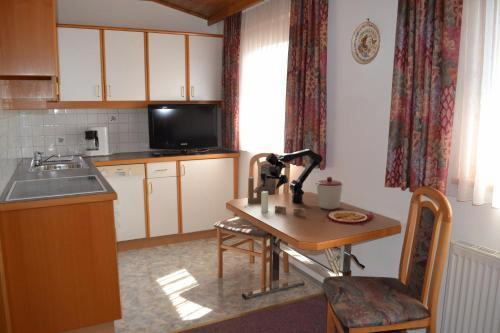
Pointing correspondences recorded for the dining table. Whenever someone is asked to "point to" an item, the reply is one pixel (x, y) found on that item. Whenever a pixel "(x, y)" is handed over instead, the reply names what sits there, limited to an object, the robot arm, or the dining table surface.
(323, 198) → the canister
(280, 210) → the walnut slotted plate
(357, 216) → the plate with food
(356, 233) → the dining table surface
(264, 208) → the sage plank
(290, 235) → the dining table surface
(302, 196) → the robot arm
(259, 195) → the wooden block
